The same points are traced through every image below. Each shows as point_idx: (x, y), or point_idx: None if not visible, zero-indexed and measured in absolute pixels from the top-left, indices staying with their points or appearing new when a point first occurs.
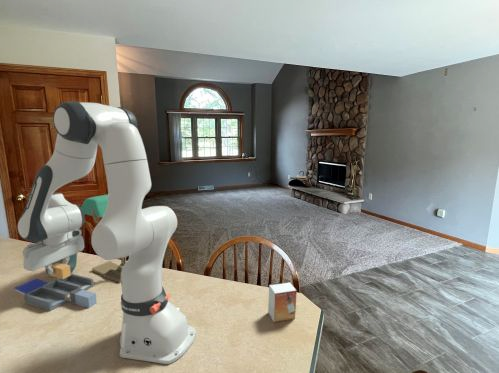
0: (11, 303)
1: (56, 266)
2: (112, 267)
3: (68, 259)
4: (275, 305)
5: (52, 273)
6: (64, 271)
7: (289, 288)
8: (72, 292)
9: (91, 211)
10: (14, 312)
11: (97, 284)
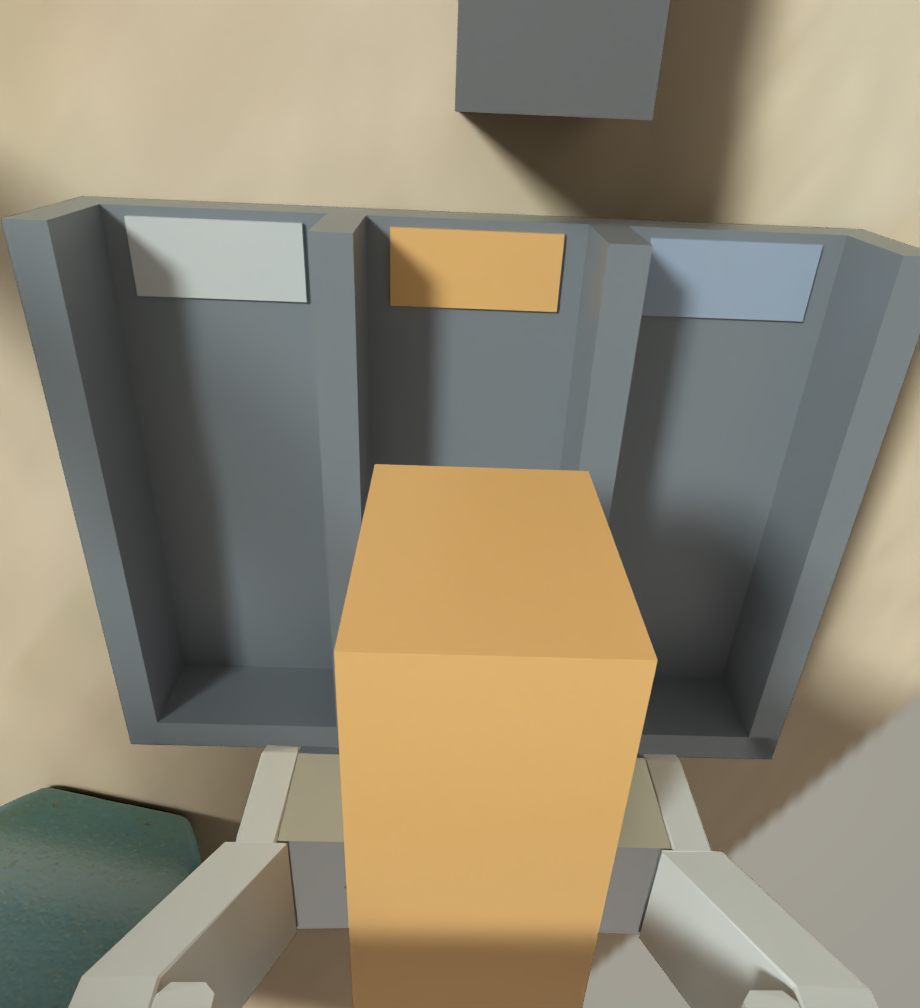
0: (762, 772)
1: (552, 904)
2: None
3: (132, 958)
4: None
5: (667, 768)
6: (553, 574)
7: None
8: (643, 45)
9: None
10: (915, 614)
11: (2, 178)
